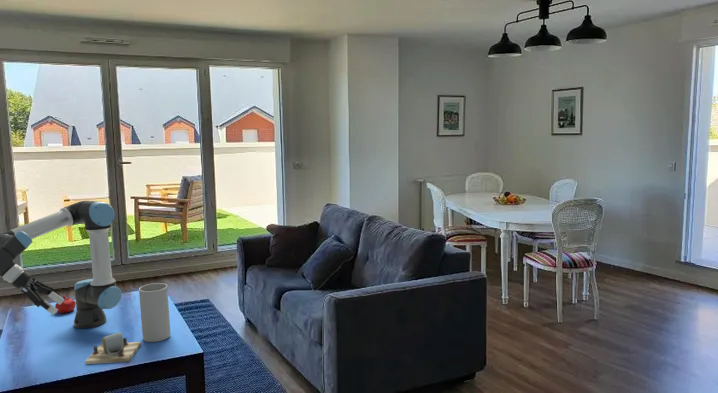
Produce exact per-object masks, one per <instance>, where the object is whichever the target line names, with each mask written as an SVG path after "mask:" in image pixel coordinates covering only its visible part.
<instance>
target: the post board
mask: <svg viewBox="0 0 718 393" xmlns="http://www.w3.org/2000/svg"><path fill="white" fill-rule="evenodd" d="M123 342H124V349H122V348H121V349H119V350H118V351H119V354H118V355H116V356H111V355H109V354H108V353H105V352H104V349H103V344H102V343H101V344H99V346H93V352H92V353H91V354H90V355H89V356H88V357H87V359H86V360H85V365H92V364H94V365H95V364H110V363H111V364H112V363H125V362H131V360H132V358H133V357H134V355H135V354H136V353H137V351H138V350H139V349H140V348H141V346H142V342H141V341H134V342H133V341H132V342H127V337H123ZM118 351H113V352H110V353H116V352H118Z"/></svg>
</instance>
